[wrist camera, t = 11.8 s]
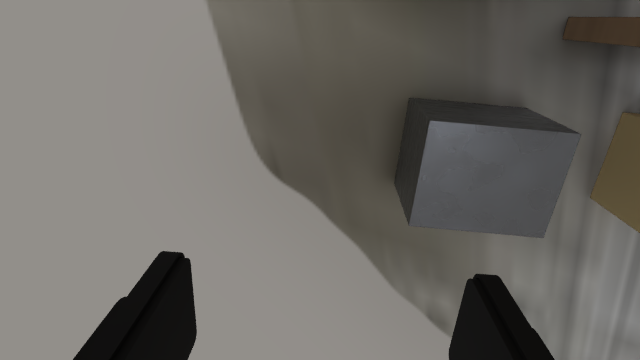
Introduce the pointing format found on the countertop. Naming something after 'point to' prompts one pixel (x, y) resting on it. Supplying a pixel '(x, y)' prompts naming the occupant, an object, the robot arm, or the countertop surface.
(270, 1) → the countertop surface
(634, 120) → the tan rectangular block
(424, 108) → the grey stone cube
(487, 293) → the robot arm
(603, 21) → the rack
